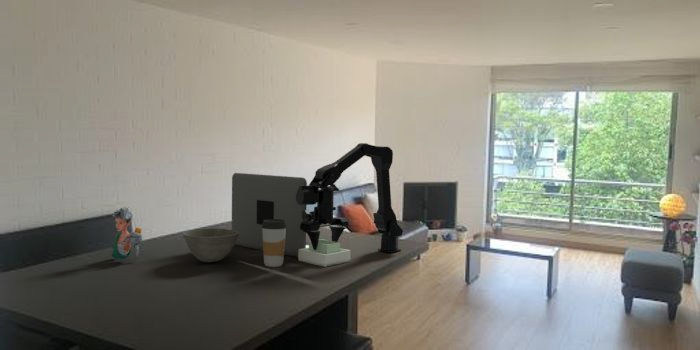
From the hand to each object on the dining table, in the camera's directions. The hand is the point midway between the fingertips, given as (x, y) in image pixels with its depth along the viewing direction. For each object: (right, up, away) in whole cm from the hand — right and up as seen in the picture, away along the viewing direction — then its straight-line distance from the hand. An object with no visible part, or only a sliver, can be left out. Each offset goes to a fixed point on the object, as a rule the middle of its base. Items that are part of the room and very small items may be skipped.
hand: (324, 248), depth 189 cm
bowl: (-39, -4, -3) cm, 39 cm away
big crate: (0, -5, 0) cm, 5 cm away
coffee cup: (-17, -5, -8) cm, 19 cm away
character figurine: (-69, -3, -4) cm, 70 cm away
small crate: (0, -4, 0) cm, 4 cm away
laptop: (-15, -3, +24) cm, 29 cm away
